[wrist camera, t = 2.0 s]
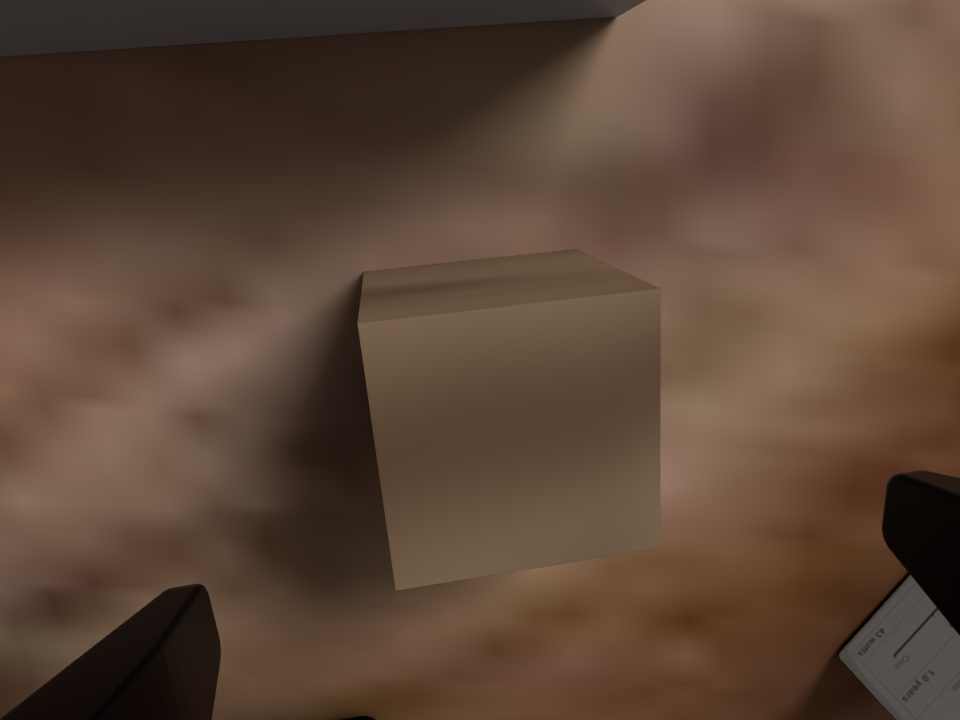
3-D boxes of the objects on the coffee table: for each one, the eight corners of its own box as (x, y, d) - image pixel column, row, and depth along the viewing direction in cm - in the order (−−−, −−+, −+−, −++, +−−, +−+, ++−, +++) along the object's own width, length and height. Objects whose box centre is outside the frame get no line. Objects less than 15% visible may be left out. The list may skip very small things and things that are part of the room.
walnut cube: (582, 440, 17) (660, 548, 13) (390, 467, 17) (395, 590, 12) (575, 248, 16) (659, 288, 11) (363, 270, 15) (357, 323, 10)
